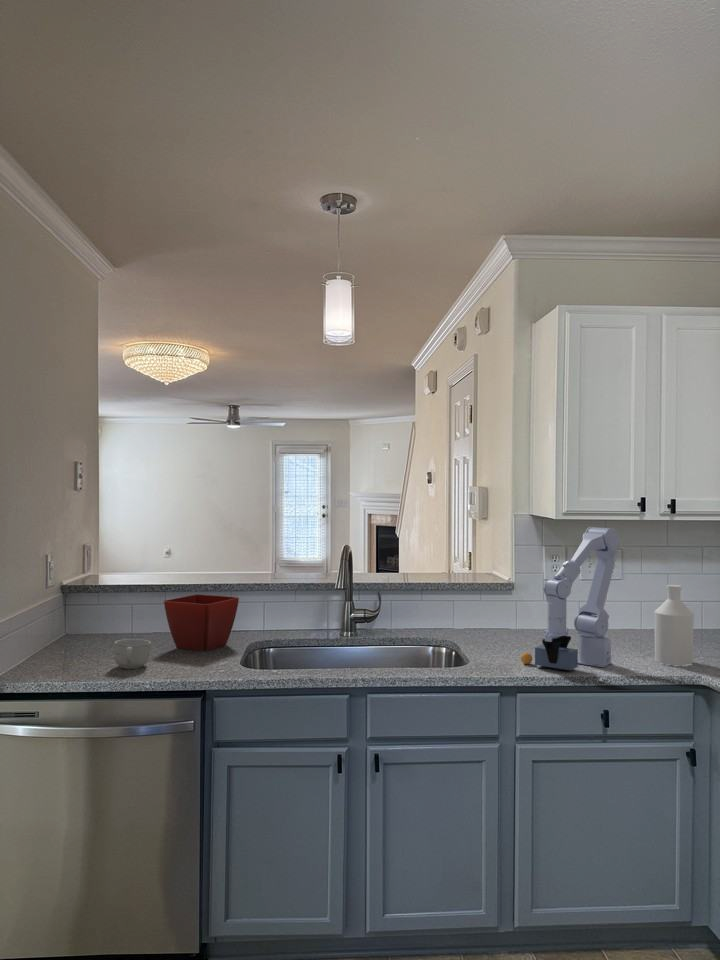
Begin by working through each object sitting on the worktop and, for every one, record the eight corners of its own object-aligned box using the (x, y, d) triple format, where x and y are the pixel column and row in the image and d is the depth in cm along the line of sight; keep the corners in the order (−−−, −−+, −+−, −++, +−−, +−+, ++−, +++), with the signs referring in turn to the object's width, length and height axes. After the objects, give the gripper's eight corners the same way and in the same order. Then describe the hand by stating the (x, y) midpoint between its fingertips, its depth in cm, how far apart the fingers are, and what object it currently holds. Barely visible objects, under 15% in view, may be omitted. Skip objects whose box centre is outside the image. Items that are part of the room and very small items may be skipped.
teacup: (121, 662, 239) (121, 637, 239) (155, 663, 239) (155, 637, 239) (105, 673, 225) (105, 646, 225) (140, 674, 225) (141, 647, 225)
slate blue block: (577, 666, 234) (577, 649, 234) (570, 670, 229) (570, 652, 229) (542, 661, 240) (542, 644, 240) (534, 664, 236) (535, 647, 236)
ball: (534, 663, 241) (534, 652, 241) (529, 665, 238) (529, 654, 238) (523, 662, 243) (523, 651, 243) (518, 664, 240) (519, 652, 240)
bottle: (694, 668, 237) (695, 588, 237) (654, 664, 241) (654, 586, 241) (692, 659, 248) (692, 584, 248) (653, 656, 252) (654, 582, 252)
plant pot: (196, 639, 276) (196, 593, 276) (239, 644, 268) (240, 597, 268) (162, 649, 258) (162, 600, 258) (207, 655, 250) (207, 604, 250)
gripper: (553, 613, 243) (553, 655, 243) (535, 619, 231) (535, 663, 231) (574, 615, 239) (574, 658, 239) (557, 622, 227) (557, 666, 227)
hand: (556, 661), depth 235 cm, fingers closed on slate blue block, 6 cm apart
